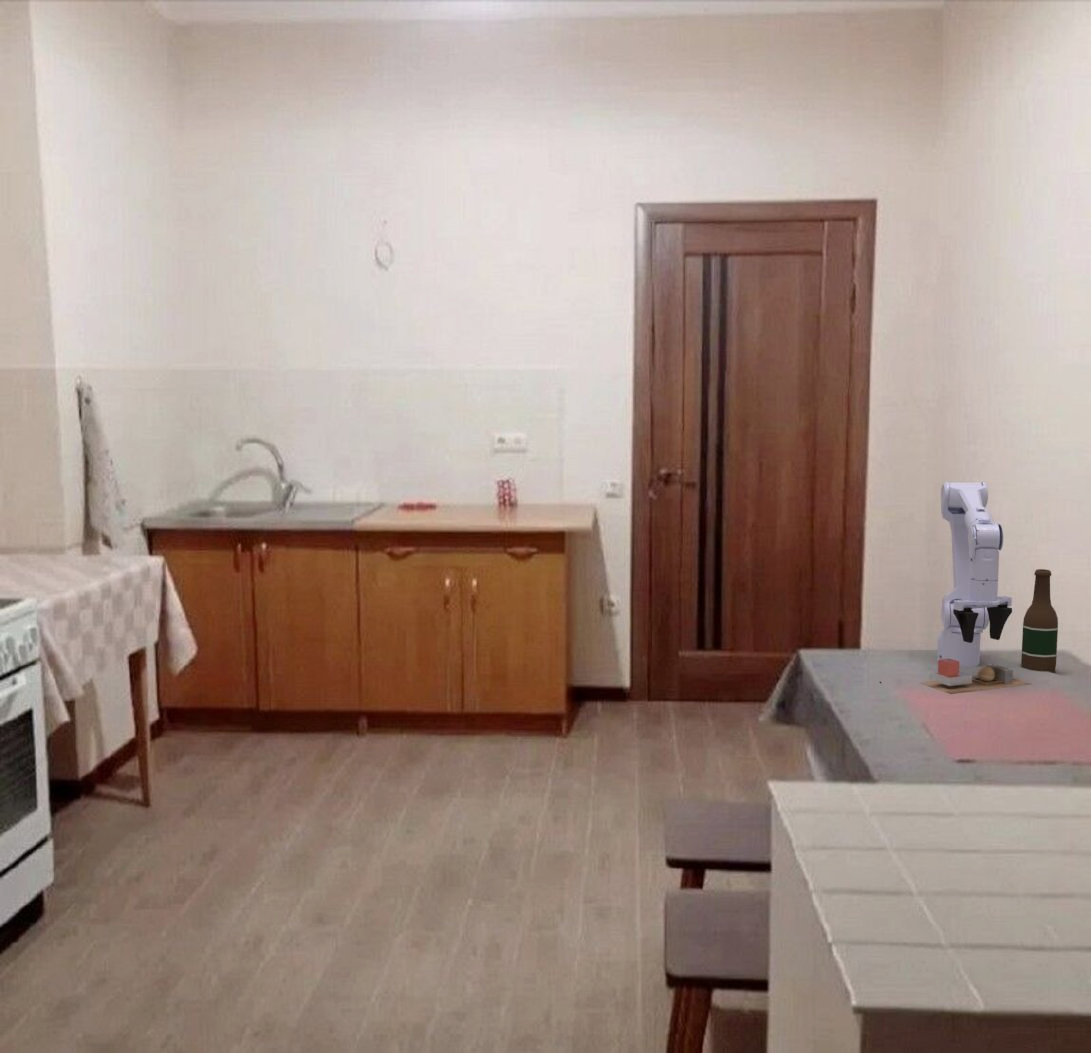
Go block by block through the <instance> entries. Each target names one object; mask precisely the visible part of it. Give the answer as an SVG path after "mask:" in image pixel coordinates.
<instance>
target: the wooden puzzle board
mask: <svg viewBox="0 0 1091 1053" xmlns="http://www.w3.org/2000/svg"><path fill="white" fill-rule="evenodd" d="M985 666H988V667H991V668H992V669H993V670H994V672H995V677H994V679H993V680H992V681H990V682H983V681H981V680H980V679H979V677H978V675H972V683H971V684H963V685H955V686H948V685H945V684H942V683H939V682H936V681H935V680H931V681H924V682H923V681H922V682H919V684H921V685H924V686H926V687H930V688H933V689H935V690H938V691H940V692H943V693H946V694H950V695H955V694H962V693H972V692H978V691H988V690H995V689H996V690H997V689H1002V688H1013V687H1020V686H1027V685H1031V682H1027V681H1024V680H1020V679H1018V678H1013V675H1014V674H1013V673H1014V672H1013V671H1014V669H1012V668H1008V667H1005V666H1002V665H1001V666H1000V665H998V664H994V663H989V664H985Z"/></svg>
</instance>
